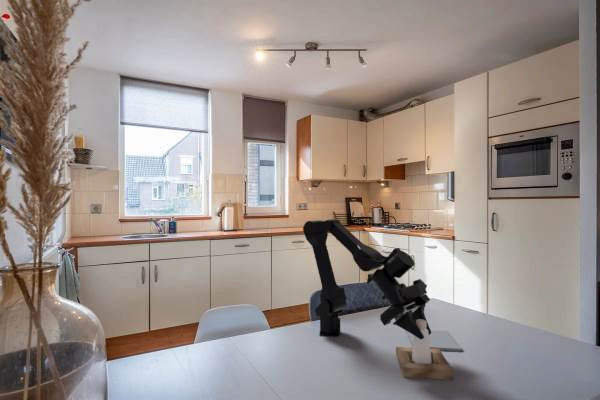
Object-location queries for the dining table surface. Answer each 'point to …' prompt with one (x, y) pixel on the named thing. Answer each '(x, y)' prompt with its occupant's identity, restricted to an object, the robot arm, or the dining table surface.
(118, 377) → the dining table surface
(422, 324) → the pepper shaker
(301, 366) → the dining table surface
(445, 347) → the slate grey mat
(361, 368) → the dining table surface
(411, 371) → the walnut collar
